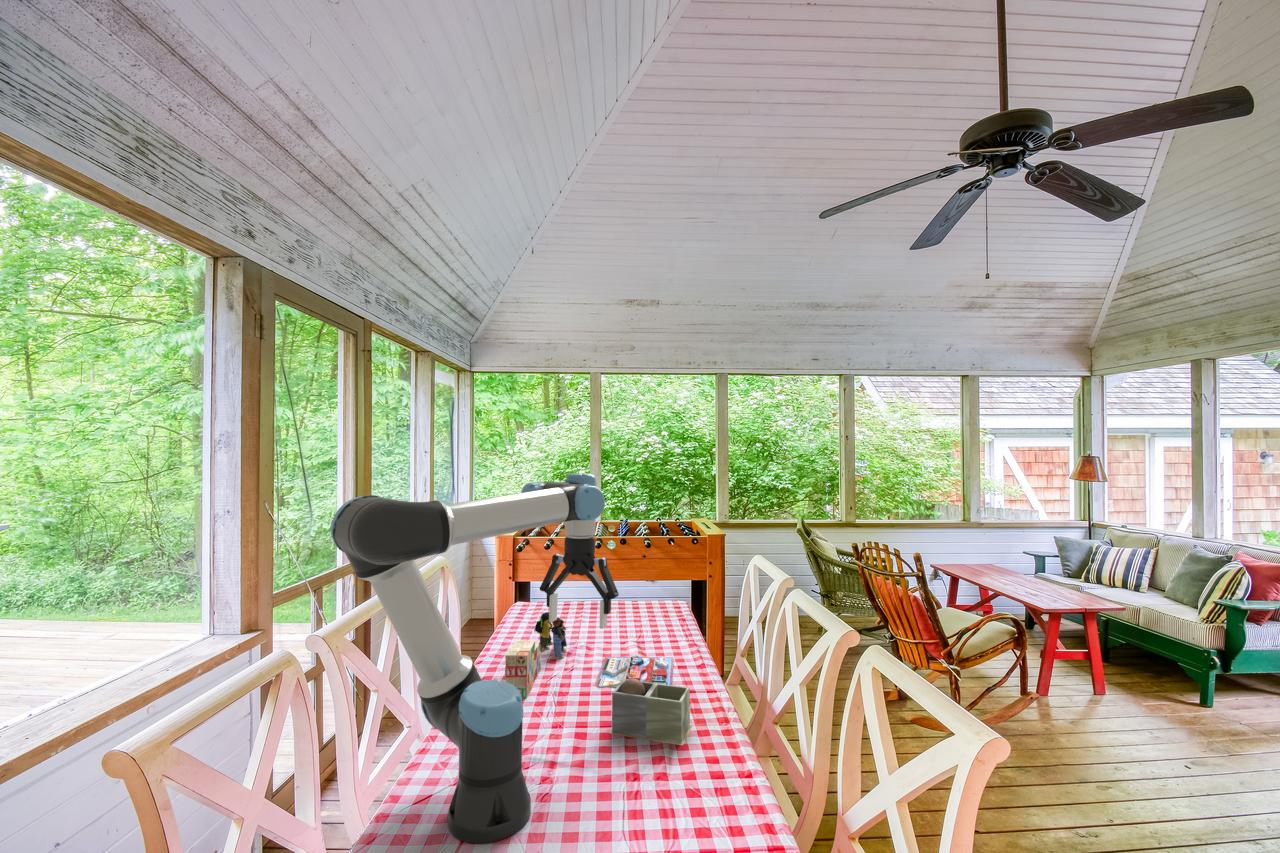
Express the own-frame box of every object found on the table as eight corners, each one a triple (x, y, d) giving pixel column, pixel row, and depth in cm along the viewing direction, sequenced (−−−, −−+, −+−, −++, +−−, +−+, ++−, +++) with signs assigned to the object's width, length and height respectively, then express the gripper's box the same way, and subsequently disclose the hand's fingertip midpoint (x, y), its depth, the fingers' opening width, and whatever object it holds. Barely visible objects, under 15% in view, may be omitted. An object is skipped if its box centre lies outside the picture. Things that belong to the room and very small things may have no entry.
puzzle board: (605, 660, 190) (605, 652, 191) (673, 662, 189) (673, 654, 189) (589, 699, 160) (590, 689, 160) (671, 702, 158) (671, 692, 158)
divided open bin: (682, 749, 132) (682, 703, 132) (608, 737, 137) (609, 693, 138) (692, 729, 141) (692, 686, 142) (622, 719, 147) (622, 677, 147)
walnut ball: (645, 710, 139) (639, 698, 136) (622, 708, 141) (615, 697, 137) (649, 686, 144) (643, 674, 140) (626, 685, 145) (620, 673, 142)
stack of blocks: (521, 670, 180) (521, 630, 181) (540, 670, 180) (541, 630, 181) (504, 699, 159) (505, 654, 160) (526, 699, 159) (527, 654, 160)
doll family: (582, 656, 192) (582, 616, 192) (559, 663, 186) (560, 622, 186) (545, 639, 209) (545, 603, 210) (523, 645, 203) (524, 607, 204)
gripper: (632, 537, 139) (630, 625, 138) (542, 531, 148) (540, 614, 146) (621, 541, 132) (619, 634, 131) (527, 534, 141) (525, 622, 139)
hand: (577, 624), depth 139 cm, fingers open, 13 cm apart
